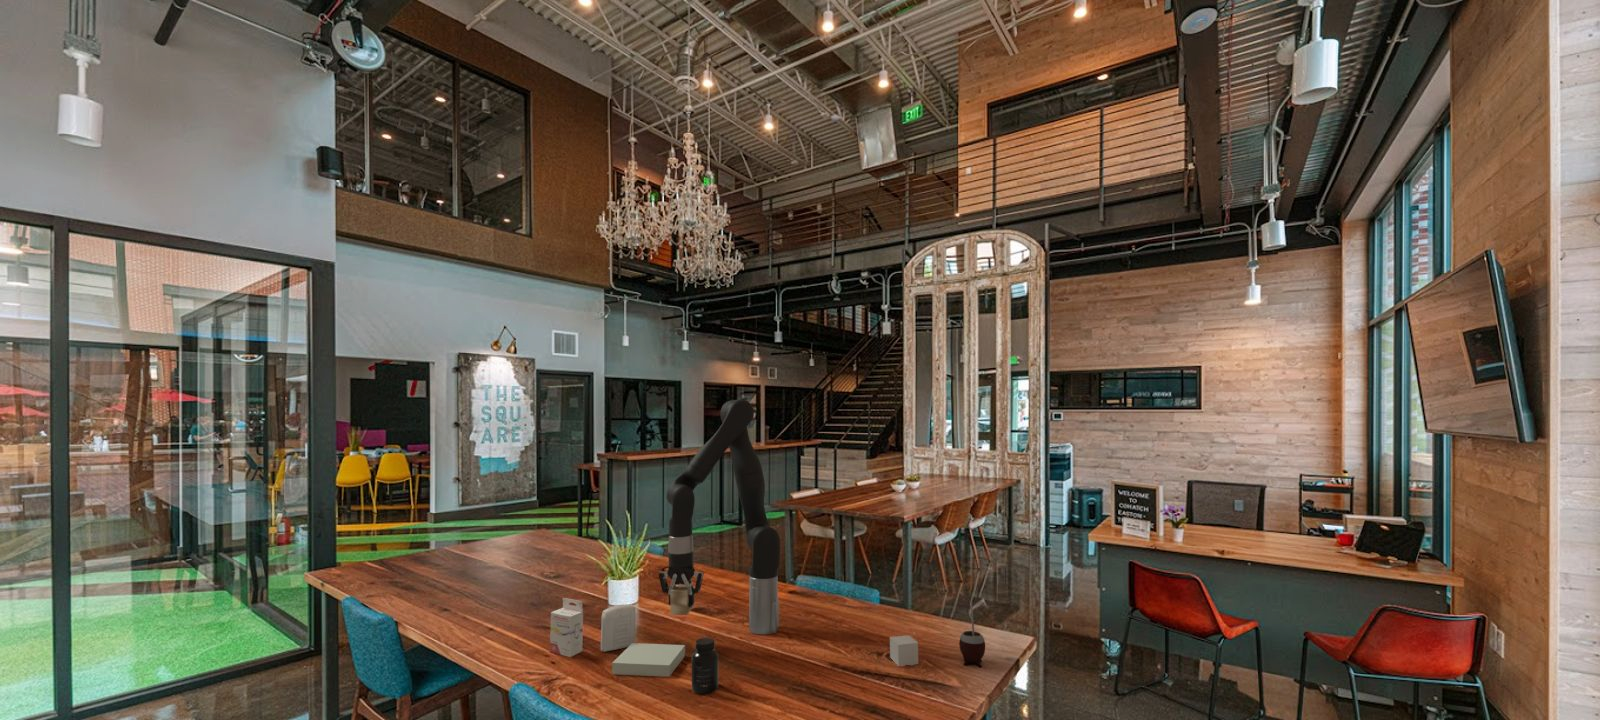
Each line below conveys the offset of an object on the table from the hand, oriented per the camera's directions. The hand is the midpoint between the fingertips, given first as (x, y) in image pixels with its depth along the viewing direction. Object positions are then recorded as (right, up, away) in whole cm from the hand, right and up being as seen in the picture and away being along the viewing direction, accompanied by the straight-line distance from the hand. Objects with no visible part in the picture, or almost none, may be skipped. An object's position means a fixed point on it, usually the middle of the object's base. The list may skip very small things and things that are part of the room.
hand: (681, 606), depth 189 cm
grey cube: (+66, -10, -14) cm, 68 cm away
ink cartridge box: (-33, -11, -6) cm, 35 cm away
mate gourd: (+85, -10, -15) cm, 87 cm away
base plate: (-6, -10, -15) cm, 19 cm away
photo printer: (-19, -12, -3) cm, 22 cm away
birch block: (0, -1, 0) cm, 1 cm away
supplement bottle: (+12, -9, -30) cm, 34 cm away
